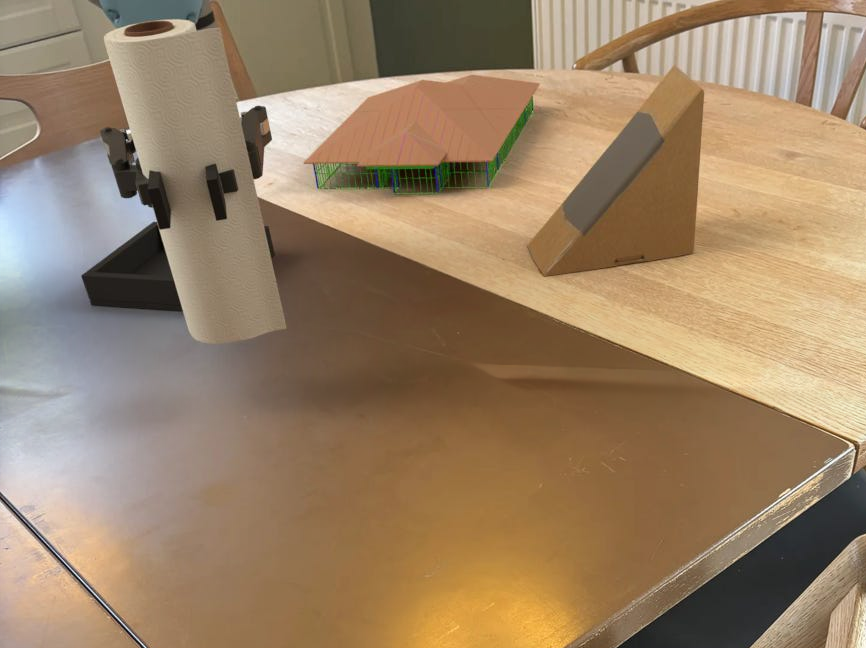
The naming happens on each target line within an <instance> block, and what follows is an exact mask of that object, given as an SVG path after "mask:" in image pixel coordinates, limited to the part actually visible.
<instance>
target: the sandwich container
mask: <svg viewBox="0 0 866 648" xmlns="http://www.w3.org/2000/svg"><path fill="white" fill-rule="evenodd" d="M704 103H705V91H704V89H703V88H702V87H701V86H700V85H699V84H698V83H696V82H695V81H694V80H693V79H692V78H691V77H690V76H689V75H687V73H685V72H684V71H683V70H682V69H681V68H680V67H678V66H677V65H676V64H674V65H673V66H672V67H671V68H670V69H669V70H668V71H667V73H666V74H665V75H664V77H663V78H662V79H661V81H660V82H659V83H658V85H657V86H656V87H655V88H654V89H653V91H652V92H651V94H650V95H649V96H648V97H647V98H646V99H645V101H644V103H643V104H642V105H641V106H640V108H639V109H638V110H637V111H636V112H635V113H634V115H633V116H632V117H631V119H630V120H629V121H628V122H627V123H626V125H625V126H624V128H622V130H621V131H620V132H619V134H618V135H617V136H616V138H615V139H613V141H612V142H611V143H610V145H609V146H608V147H607V148H606V149H605V150H604V152H603V153H602V154H601V155H600V156H599V158H598V159H597V160H596V162H595V163H594V164H593V165H592V166H591V168H590V169H589V170H588V171H587V173H586V174H585V175H584V176H583V178H581V180H580V181H579V183H577V184H576V186H575V187H574V188H573V189H572V191H571V192H570V193H569V195H568V196H567V197H566V198H565V200H564V201H562V203H561V204H560V205H559V207H558V208H557V209H556V210H555V211H554V213H553V214H552V215H551V216H550V217H549V218H548V220H546V222H545V223H544V224H543V226H541V228H539V230H538V231H537V233H536V234H535V235H534V236H533V238H532V239H531V240H530V241H529V242H528V243H527V248H528V250H529V253H530V255H531V259H532V260H533V262H534V263H535V265H536V266H537V268H538V269H539V270H540V272H541V274H542V275H543V276H544V277H547V276H548V277H549V276H555V275H562V274H569V273H576V272H584V271H592V270H599V269H605V268H613V267H617V266H622V265H630V264H636V263H642V262H651V261H656V260H662V259H663V260H664V259H669V258H674V257H680V256H685V255H691V254H694V252H695V239H696V225H697V224H696V223H697V211H698V194H699V182H700V181H699V179H700V166H701V165H700V164H701V152H702V151H701V149H702V136H703V135H702V134H703V133H702V132H703V119H704V106H705V105H704Z"/></svg>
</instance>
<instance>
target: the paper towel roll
mask: <svg viewBox="0 0 866 648" xmlns="http://www.w3.org/2000/svg"><path fill="white" fill-rule="evenodd" d="M103 41H104V45H105V48H106V52H107V55H108V59H109V63H110V66H111V69H112V73H113V76H114V79H115V83H116V87H117V90H118V93H119V96H120V100H121V103H122V108H123V110H124V114H125V118H126V120H127V125H128V127H129V131H130V133H131V135H132V138H133V141H134V145H135V148H136V152H135V153H136V154H137V157H138V158H139V162H140V165H141V169H142V172H143V175H144V176H146V177H147V178H148V179H149V170H151V171H155V172H160V174H161V177H162V181H163V184H164V188H165V191H166V195H167V199H168V202H169V206H170V209H171V227H170V228H168V229H162V230H160V234H161V237H162V241H163V244H164V248H165V251H166V254H167V258H168V261H169V265H170V268H171V272H172V275H173V278H174V282H175V285H176V289H177V292H178V296H179V299H180V302H181V306H182V309H183V311H182V312H183V316H184V319H185V323H186V326H187V330H188V333H189V334H190V336H191V337H192V338H193V339H194V340H195V341H198V342H200V343H203V344H214V345H220V344H226V343H233V342H234V343H235V342H239V341H245V340H250V339H253V338H256V337H259V336H261V335H265V334H267V333H271V332H275V331H280V330H281V331H282V330H287V323H286V319H285V315H284V311H283V305H282V302H281V297H280V293H279V288H278V287H279V286H278V283H277V278H276V275H275V271H274V269H275V268H274V266H273V261H272V260H273V259H272V258H271V256H270V251H269V247H268V242H267V238H266V233H265V229H264V226H265V225H264V221H263V216H262V211H261V207H260V202H259V197H258V193H257V188H256V184H255V179H253V175H252V170H251V166H250V161H249V157H248V152H247V148H246V143H245V139H244V134H243V130H242V125H241V121H240V117H241V115H240V112H239V107H238V103H237V99H236V93H235V90H234V85H233V80H232V76H231V72H230V67H229V62H228V58H227V53H226V49H225V45H224V40H223V35H222V30H221V28H220V27H217V28H212V29H205V30H200V31H196V26H195V24H194V23H193V22H191V21H189V20H180V19H171V20H157V21H148V22H142V23H137V24H132V25H128V26H125V27H121V28H118V29H117V28H114V29H113V30H111V31H109V32H107V33H105V35H104V36H103ZM212 164H216V165H217V169H218V173H222V172H225V171H229V170H233V169H234V172H235V177H236V181H237V185H238V189H239V190H238V191H237V192H232V193H225V194H224V193H223V194H224V198H225V202H226V212H227V219H225V220H219V221H216V218H215V214H214V210H213V206H212V202H211V198H210V194H209V190H208V186H207V182H206V168H205V166H209V165H212ZM219 178H220V177H219ZM220 182H221V181H220ZM221 186H222V185H221ZM222 190H223V189H222ZM152 209H153V208H152ZM153 211H154V209H153ZM154 216H155V215H154ZM154 218H155V220H156V221H157V219H156V216H155V217H154ZM157 224H158V223H157ZM158 227H159V226H158Z"/></svg>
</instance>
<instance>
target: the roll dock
mask: <svg viewBox="0 0 866 648" xmlns="http://www.w3.org/2000/svg"><path fill="white" fill-rule="evenodd" d="M264 229H265V233H266V238H267V242H268V247H269V251H270V256H271V259H272V258H274V257H275V254H276V253H275V250H274V245H273V240H272V235H271V231H270V227H269V226H268V225H264ZM80 277H81V280H82V282H83V285H84V288H85V291H86V294H87V297H88V300H89V303H90V305H91V306H100V307H115V308H128V309H129V308H130V309H145V310H161V311H177V312H183V309H182V306H181V302H180V299H179V296H178V292H177V289H176V285H175V282H174V278H173V275H172V272H171V268H170V265H169V261H168V258H167V254H166V251H165V248H164V244H163V241H162V237H161V234H160V230H159V227H158V224H157V221H152V222H151V223H150V224H148V225H147V226H145V227H144V228H142V230H140V231H139V232H137V233H136V234H135V235H133V236H132V237H131V238H129V239H128V240H127V241H125V242H124V243H123V244H122V245H119V247H117V248H116V249H115V250H113V251H112V252H111V253H109V254H108V255H107V256H106V257H104V258H103V259H101V260H100V261H98V262H97V263H96V264H94V265H93V266H92V267H90V268H89V269H87V271H85V272H84V273H82V274H81V276H80Z"/></svg>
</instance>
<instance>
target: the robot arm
mask: <svg viewBox="0 0 866 648" xmlns="http://www.w3.org/2000/svg"><path fill="white" fill-rule="evenodd" d="M87 1H88V2H90V3H92V4H93V5H95V6H96V7H97V8H99V9H101V10H102V11H103V13H104V15H105V16H106V17H107V19H108V20H109V21H110V22H111V24H112V25H113V26H114V27H115V29H118V28H121V27H125V26H128V25H132V24H137V23H142V22H148V21H157V20H171V19H180V20H189V21H191V22H193V23H194V24H195V26H196V31H200V30H205V29H212V28H218V27H217V22H216V18H215V14H214V11H213V9H212V4H211V0H87ZM240 121H241V125H242V130H243V134H244V139H245V143H246V148H247V152H248V157H249V161H250V166H251V170H252V175H253V179H254V180H258V179H260V178H261V177H263V175H264V158H265V147H266V146H268V145H269V144H270V143H271V142H272V141H273V137H272V131H271V127H270V122H269V118H268V113H267V107H266V106H264V105H255V106H254V107H252V108H250V109H249V110H248V111H242V112H240ZM99 134H100V137H101V141H102V143H103V147H104V150H105V153H106V157H107V159H108V162H109V165H110V166H111V169H112V174H113V176H114V179H115V182H116V186H117V188H118V191H119V195H120V197H121V198H122V199H132V198H134V197H136V196H137V195H138V197H139V200H140V203H141V205H142V206H147V208H151V209H154V210H153V212H154V216H156V217H155V220H156V219H157V220H156V222H157V223H158V226H159V230H162V229H168V228H170V227H171V209H170V206H169V202H168V199H167V195H166V191H165V188H164V184H163V181H162V177H161V174H160V172H155V171H151V170H149V179H148V178H147V177H146V176H144V175H143V172H142V169H141V165H140V162H139V158H138V156H137V157H136V158H135V156H134V154H135V153H137V152H136V148H135V145H134V141H133V138H132V135H131V132H130V133H128V132H127V130H126V129H125V128H121V129H117V128H115V127H110V126H105V127H103V129H101V130H100V131H99ZM134 163H135V164H134ZM205 168H206V182H207V186H208V190H209V194H210V198H211V202H212V206H213V210H214V214H215V218H216V221H219V220H225V219H227V212H226V202H225V198H224V194H225V193H232V192H237V191H238V190H239V189H238V185H237V181H236V177H235V172H234V169H233V170H229V171H225V172H222V173H218V169H217V165H216V164H212V165H209V166H205ZM219 177H220V178H219ZM220 181H221V182H220ZM221 185H222V186H221ZM222 189H223V190H222ZM223 193H224V194H223Z"/></svg>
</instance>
